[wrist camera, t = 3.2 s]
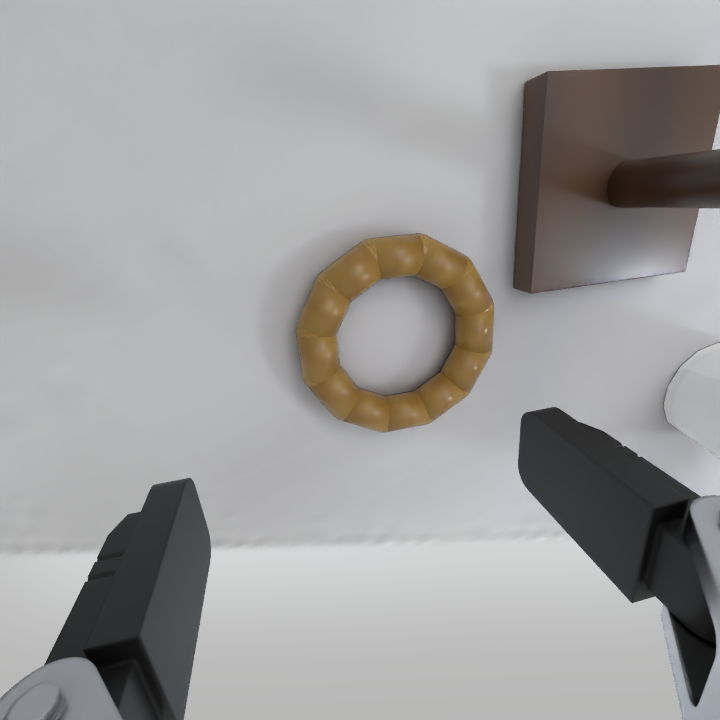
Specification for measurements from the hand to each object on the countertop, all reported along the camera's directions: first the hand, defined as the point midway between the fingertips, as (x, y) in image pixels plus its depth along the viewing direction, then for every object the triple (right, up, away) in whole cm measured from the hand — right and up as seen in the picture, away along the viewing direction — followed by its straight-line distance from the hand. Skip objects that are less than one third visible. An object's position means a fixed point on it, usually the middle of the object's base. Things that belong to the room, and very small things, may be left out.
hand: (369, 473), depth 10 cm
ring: (+2, +4, +10) cm, 10 cm away
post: (+12, +11, +10) cm, 19 cm away
